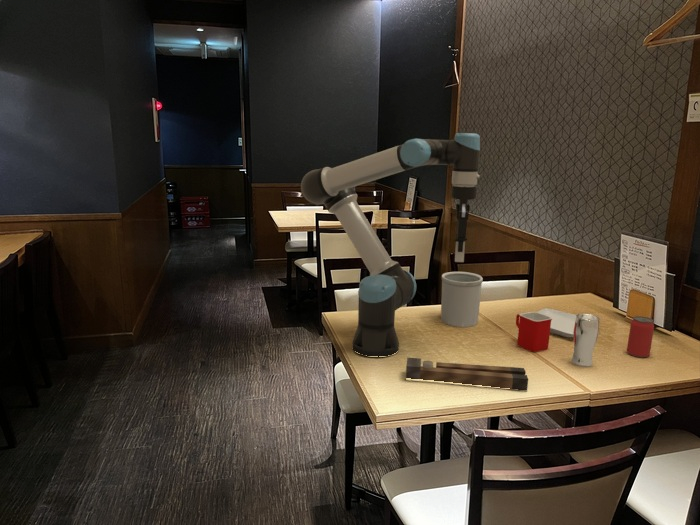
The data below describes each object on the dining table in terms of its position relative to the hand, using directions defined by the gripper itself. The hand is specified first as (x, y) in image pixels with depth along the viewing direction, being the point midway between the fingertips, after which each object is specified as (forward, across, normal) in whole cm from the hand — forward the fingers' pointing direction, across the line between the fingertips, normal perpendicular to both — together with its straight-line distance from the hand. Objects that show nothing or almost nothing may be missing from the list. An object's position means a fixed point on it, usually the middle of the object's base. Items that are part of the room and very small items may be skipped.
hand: (459, 261), depth 161 cm
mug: (+30, +9, -25) cm, 40 cm away
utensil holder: (+30, +28, -3) cm, 41 cm away
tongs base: (+29, -23, -3) cm, 37 cm away
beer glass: (+30, -3, -39) cm, 49 cm away
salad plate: (+30, +29, -39) cm, 57 cm away
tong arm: (+29, -21, -7) cm, 37 cm away
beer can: (+30, +8, -59) cm, 66 cm away
